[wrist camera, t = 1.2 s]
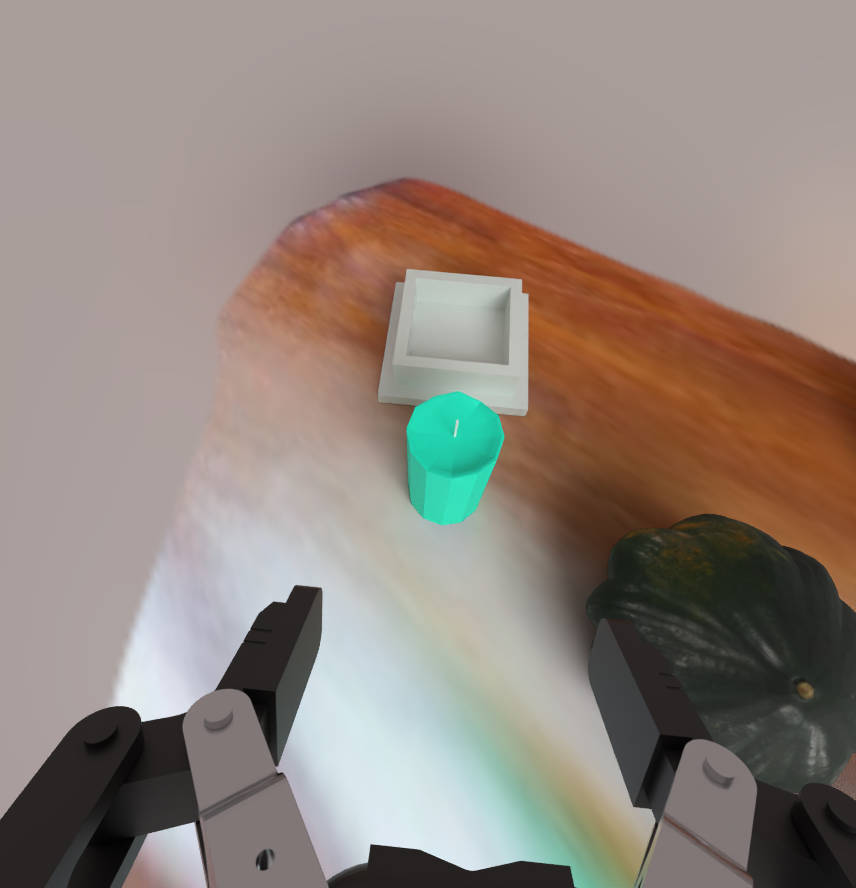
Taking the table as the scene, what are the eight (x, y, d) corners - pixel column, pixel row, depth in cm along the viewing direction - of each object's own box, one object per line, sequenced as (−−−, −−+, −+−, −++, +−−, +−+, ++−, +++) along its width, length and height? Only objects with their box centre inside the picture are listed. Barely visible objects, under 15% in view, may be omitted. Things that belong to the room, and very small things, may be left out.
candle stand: (525, 302, 46) (535, 270, 42) (524, 416, 41) (536, 391, 37) (396, 290, 46) (395, 257, 42) (378, 402, 41) (374, 375, 37)
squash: (787, 492, 32) (782, 470, 21) (921, 732, 27) (1016, 884, 15) (597, 550, 40) (515, 558, 28) (672, 748, 34) (608, 858, 23)
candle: (494, 507, 37) (528, 444, 26) (426, 537, 36) (432, 485, 25) (461, 445, 39) (479, 364, 28) (396, 471, 38) (389, 397, 27)
